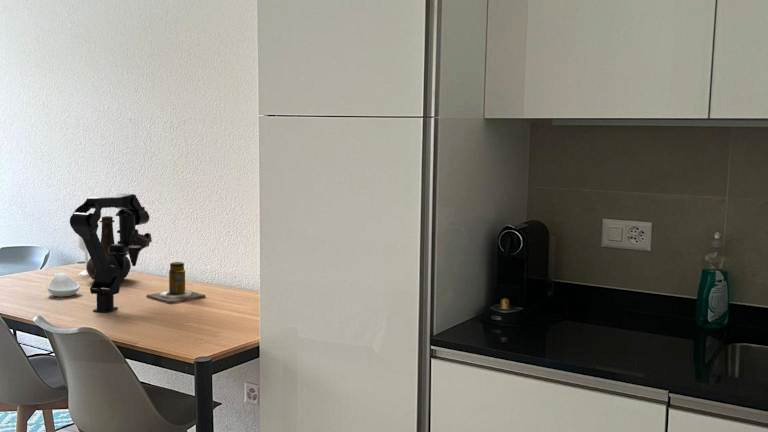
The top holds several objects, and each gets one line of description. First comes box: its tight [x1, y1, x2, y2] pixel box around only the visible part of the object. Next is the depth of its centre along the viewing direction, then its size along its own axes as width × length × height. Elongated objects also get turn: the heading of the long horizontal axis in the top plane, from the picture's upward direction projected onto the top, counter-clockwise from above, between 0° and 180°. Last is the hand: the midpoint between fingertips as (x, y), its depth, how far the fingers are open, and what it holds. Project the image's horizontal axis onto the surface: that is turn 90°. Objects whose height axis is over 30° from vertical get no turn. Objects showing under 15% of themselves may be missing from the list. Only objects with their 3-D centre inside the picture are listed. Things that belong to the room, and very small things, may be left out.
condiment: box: [166, 261, 187, 296], centre depth 293 cm, size 7×8×12 cm
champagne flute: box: [77, 235, 89, 276], centre depth 337 cm, size 7×7×24 cm
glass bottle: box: [87, 215, 132, 281], centre depth 321 cm, size 18×18×28 cm
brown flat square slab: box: [146, 289, 206, 305], centre depth 294 cm, size 16×16×2 cm
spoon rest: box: [47, 272, 81, 298], centre depth 300 cm, size 24×12×7 cm, turn 31°
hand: (128, 268), depth 284 cm, fingers open, 9 cm apart
